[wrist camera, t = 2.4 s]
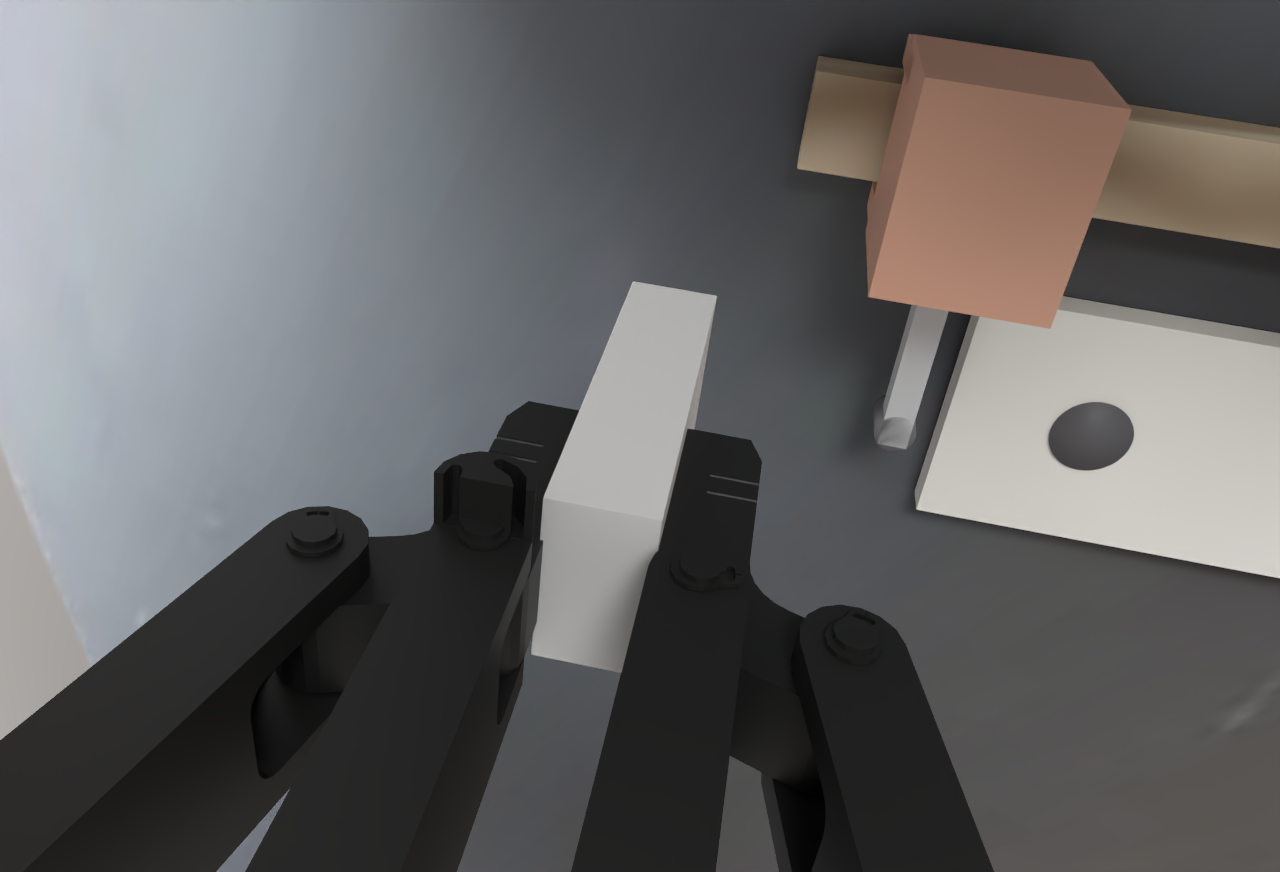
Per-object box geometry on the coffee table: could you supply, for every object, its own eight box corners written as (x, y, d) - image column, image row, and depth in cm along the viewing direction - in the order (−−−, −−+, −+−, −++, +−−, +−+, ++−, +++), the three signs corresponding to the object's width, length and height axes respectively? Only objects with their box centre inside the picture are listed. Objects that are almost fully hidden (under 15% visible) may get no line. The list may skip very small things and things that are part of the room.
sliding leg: (911, 23, 31) (925, 77, 26) (1082, 49, 31) (1132, 109, 25) (819, 398, 38) (815, 502, 33) (956, 423, 38) (974, 532, 32)
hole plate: (981, 282, 36) (986, 298, 35) (1659, 398, 34) (1685, 419, 33) (914, 491, 41) (916, 510, 40) (1502, 601, 39) (1520, 625, 38)
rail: (828, 5, 32) (824, 60, 26) (1843, 160, 30) (2094, 259, 24) (753, 375, 39) (737, 485, 33) (1563, 522, 37) (1701, 668, 31)
